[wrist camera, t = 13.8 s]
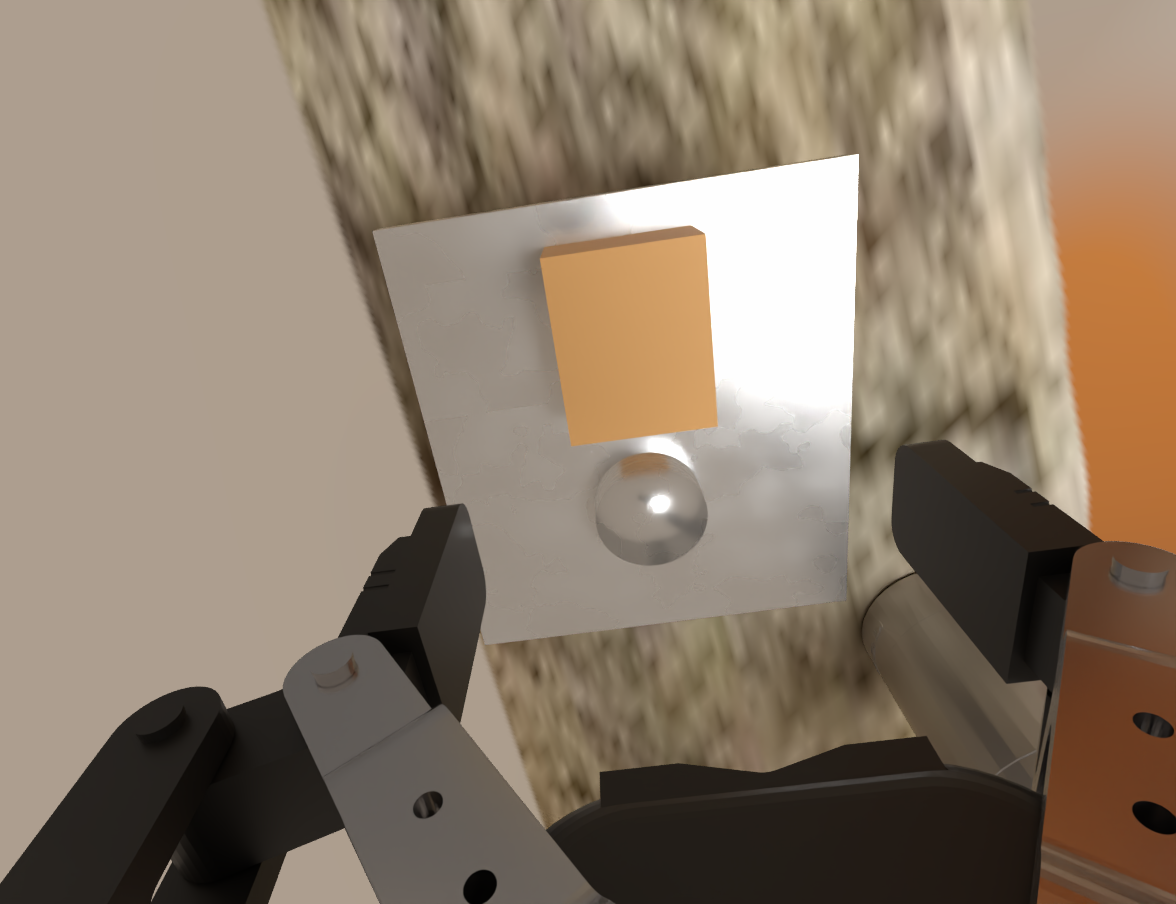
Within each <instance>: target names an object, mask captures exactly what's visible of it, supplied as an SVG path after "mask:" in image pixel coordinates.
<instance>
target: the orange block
mask: <svg viewBox="0 0 1176 904" xmlns="http://www.w3.org/2000/svg"><path fill="white" fill-rule="evenodd" d="M540 263H541V269H542V275H543V281H544V287H545V293H546V299H547V305H548V311H549V317H550V323H551V329H552V335H553V341H554V347H555V353H556V359H557V365H558V371H559V377H560V383H561V389H562V394H563V400H564V406H565V412H566V418H567V424H568V430H569V436H570V442H571V446H578V445H585V444H593V443H600V442H608V441H615V440H622V439H630V438H637V437H645V436H652V435H660V434H667V433H674V432H682V431H689V430H697V429H704V428H712V427H718V420H717V404H716V388H715V372H714V355H713V339H712V323H711V307H710V291H709V275H708V259H707V243H706V234H705V233H704V232H702V231H701V230H699V229H697V228H696V227H694V226H692V225H689V226H682V227H675V228H669V229H662V230H655V231H649V232H642V233H635V234H629V235H622V236H615V237H609V238H602V239H595V240H589V241H582V242H575V243H569V244H562V245H555V246H549V247H544V249H543V251H542V254H541V257H540Z"/></svg>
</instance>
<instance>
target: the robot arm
mask: <svg viewBox="0 0 1176 904" xmlns="http://www.w3.org/2000/svg"><path fill="white" fill-rule="evenodd" d="M892 532H893V536H894V540H895V543H896V545H897V547H898V549H899V551H900V553H901V554H902V556H903V557H904V558H905V559H906V561H907V562H908V563H909V564H910V566H911V567H912V568H913V569H914V570H915V572H916V573H917V574H913V575H910V576H908V577H906V578H904V579H902V580H900V581H898V582H896V583H895V584H893V585H892V586H890V587H889V588H887V589H886V590H885V591H884V592H883V593H882V594H881V595H879V596H878V597H877V598H876V599H875V601H874V602H873V604H872V605H871V606H870V608H869V609H868V611H867V614H866V616H865V618H864V621H863V627H862V639H863V643H864V646H865V648H866V651H867V652H868V654H869V656H870V657H871V659H872V661H873V663H874V665H875V667H876V669H877V671H878V672H879V674H880V675H881V676H882V678H883V680H884V682H885V683H886V685H887V687H888V688H889V690H890V692H891V694H892V696H893V697H894V699H895V701H896V702H897V704H898V706H899V708H900V709H901V711H902V713H903V714H904V716H905V718H906V720H907V721H908V723H909V725H910V726H911V728H912V730H913V732H914V733H915V735H916V737H912V738H903V739H894V740H885V741H876V742H867V743H858V744H849V745H843V746H840V747H838V748H835V749H832V750H830V751H827V752H824V753H821V754H819V755H816V756H813V757H811V758H808V759H805V760H802V761H800V762H797V763H794V764H792V765H789V766H786V767H783V768H781V769H778V770H775V771H772V772H766V773H758V772H749V771H740V770H732V769H723V768H714V767H705V766H697V765H688V764H679V763H678V764H669V765H660V766H651V767H642V768H633V769H624V770H615V771H606V772H600V797H601V799H599V800H597V801H594V802H592V803H589V804H587V805H585V806H583V807H581V808H579V809H577V810H575V811H573V812H571V813H569V814H568V815H566V816H565V817H563V818H562V819H560V820H559V821H557V822H556V823H554V824H553V825H552V826H550V827H549V828H548V829H547V830H545V829H544V827H543V826H542V825H541V824H540V822H539V821H538V820H537V819H536V818H535V816H534V815H533V814H532V813H531V811H530V810H529V809H528V808H527V806H526V805H525V804H524V803H523V801H522V800H521V799H520V798H519V796H518V795H517V794H516V793H515V792H514V790H513V789H512V788H511V787H510V785H509V784H508V783H507V781H506V780H505V779H504V778H503V776H502V775H501V774H500V773H499V771H498V770H497V769H496V768H495V766H494V765H493V764H492V763H491V762H490V760H489V759H488V758H487V757H486V755H485V754H484V753H483V752H482V750H481V749H480V748H479V747H478V745H477V744H476V743H475V742H474V740H473V739H472V738H471V737H470V736H469V734H468V733H467V732H466V731H465V729H464V728H463V727H462V725H461V724H460V721H461V717H462V713H463V708H464V703H465V698H466V693H467V689H468V684H469V679H470V675H471V670H472V666H473V661H474V656H475V652H476V647H477V642H478V637H479V633H480V628H481V623H482V619H483V614H484V609H485V604H486V582H485V575H484V571H483V567H482V563H481V559H480V555H479V551H478V547H477V543H476V539H475V535H474V532H473V528H472V524H471V520H470V516H469V513H468V510H467V508H466V506H465V505H464V504H463V503H461V504H453V505H446V506H438V507H431V508H425V509H423V511H422V512H421V514H420V517H419V519H418V521H417V523H416V525H415V528H414V530H413V532H412V534H411V536H407V537H400V538H398V539H397V540H396V541H394V542H393V543H392V544H391V545H390V546H389V547H388V548H387V549H386V550H384V551H383V552H382V553H381V554H380V556H379V557H378V559H377V561H376V563H375V565H374V568H373V569H372V571H371V576H369V577H368V579H367V581H366V583H365V585H364V587H363V589H364V591H362V592H361V593H360V595H359V597H358V599H357V601H356V603H355V605H354V607H353V609H352V611H351V613H350V615H349V617H348V619H347V621H346V623H345V625H344V627H343V629H342V631H341V633H340V635H339V636H338V638H337V639H334V640H331V641H328V642H326V643H324V644H322V645H320V646H318V647H316V648H315V649H313V650H311V651H310V652H308V653H307V654H305V655H304V656H303V657H302V658H301V659H299V660H298V661H297V663H295V665H294V666H293V667H292V668H291V669H290V671H289V672H288V674H287V676H286V678H285V680H284V684H283V689H282V690H279V691H277V692H274V693H272V694H269V695H266V696H263V697H261V698H257V699H255V700H252V701H249V702H246V703H243V704H240V705H237V706H234V707H232V708H229V709H226V707H225V706H224V703H223V701H222V700H221V698H220V696H219V694H218V693H217V692H216V691H215V690H213V689H211V688H208V687H189V688H185V689H180V690H177V691H174V692H171V693H169V694H166V695H164V696H162V697H160V698H158V699H156V700H154V701H152V702H150V703H149V704H147V705H145V706H143V707H142V708H140V709H139V710H138V711H136V712H135V713H134V714H132V715H131V716H130V717H129V718H127V719H126V720H125V721H124V722H123V723H122V724H121V725H120V726H119V727H118V728H117V729H116V730H115V732H114V733H113V734H112V735H111V737H110V738H109V739H108V741H107V742H106V743H105V745H104V746H103V747H102V748H101V750H100V751H99V753H98V754H97V755H96V757H95V758H94V759H93V760H92V762H91V763H90V764H89V766H88V767H87V769H86V770H85V771H84V773H83V774H82V775H81V777H80V778H79V779H78V781H77V782H76V783H75V785H74V786H73V787H72V789H71V790H70V791H69V793H68V794H67V796H66V797H65V798H64V799H63V801H62V802H61V803H60V805H59V806H58V807H57V809H56V810H55V811H54V813H53V814H52V815H51V817H50V818H49V820H48V821H47V822H46V823H45V825H44V826H43V827H42V829H41V830H40V831H39V833H38V834H37V835H36V837H35V838H34V839H33V841H32V842H31V843H30V845H29V846H28V847H27V849H26V850H25V852H24V853H23V854H22V856H21V857H20V858H19V860H18V861H17V862H16V863H15V865H14V866H13V867H12V869H11V870H10V871H9V873H8V874H7V875H6V877H5V878H4V880H3V881H2V882H1V883H0V904H268V902H269V900H270V897H271V894H272V891H273V889H274V886H275V883H276V881H277V878H278V875H279V872H280V870H281V866H282V864H283V861H284V858H285V856H286V853H287V852H288V851H290V850H293V849H295V848H297V847H300V846H302V845H305V844H307V843H310V842H312V841H314V840H317V839H319V838H322V837H324V836H327V835H329V834H331V833H334V832H336V831H339V830H341V829H343V828H345V830H346V832H347V834H348V836H349V838H350V841H351V843H352V845H353V847H354V849H355V851H356V854H357V856H358V858H359V860H360V862H361V864H362V866H363V868H364V871H365V873H366V875H367V877H368V879H369V882H370V884H371V886H372V888H373V890H374V892H375V894H376V897H377V899H378V901H379V903H380V904H1176V555H1175V554H1173V553H1170V552H1168V551H1165V550H1162V549H1159V548H1155V547H1151V546H1147V545H1142V544H1137V543H1130V542H1119V541H1105V542H1104V541H1102V540H1101V539H1100V538H1098V537H1097V536H1095V535H1094V534H1093V533H1091V532H1090V531H1089V530H1087V529H1086V528H1085V527H1083V526H1082V525H1081V524H1079V523H1078V522H1076V521H1075V520H1074V519H1072V518H1071V517H1070V516H1068V515H1067V514H1066V513H1064V512H1063V511H1061V510H1060V509H1059V508H1057V507H1056V506H1055V505H1049V501H1048V500H1046V499H1045V498H1044V497H1042V496H1041V495H1040V494H1038V493H1037V492H1032V490H1031V488H1030V487H1029V486H1027V485H1026V484H1025V483H1023V482H1022V481H1021V480H1019V479H1018V478H1016V477H1015V476H1014V475H1012V474H1011V473H1009V472H1006V471H1004V470H1001V469H998V468H996V467H993V466H991V465H988V464H985V463H983V462H975V461H974V460H973V459H971V458H970V457H969V456H967V455H966V454H965V453H964V452H962V451H961V450H960V449H958V448H957V447H956V446H954V445H953V444H952V443H951V442H949V441H947V440H938V441H930V442H923V443H915V444H908V445H902V446H900V447H899V448H898V450H897V453H896V457H895V469H894V485H893V502H892ZM170 859H171V860H172V864H171V865H170V867H169V869H168V871H167V873H166V875H165V877H164V879H163V881H162V882H161V884H160V887H159V888H158V890H157V892H156V894H155V896H154V898H153V900H152V901H151V899H152V896H153V893H154V890H155V888H156V885H157V884H158V881H159V880H160V878H161V876H162V874H163V872H164V870H165V868H166V866H167V865H168V863H169V861H170Z"/></svg>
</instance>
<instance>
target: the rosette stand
mask: <svg viewBox="0 0 1176 904" xmlns="http://www.w3.org/2000/svg"><path fill="white" fill-rule="evenodd" d="M858 157H859V155H841V156H834V157H828V158H822V159H815V160H809V161H803V162H796V163H790V164H784V165H777V166H771V167H765V168H758V169H752V170H746V171H739V172H733V173H727V174H720V175H714V176H707V177H701V178H695V179H688V180H682V181H676V182H669V183H663V184H657V185H650V186H644V187H638V188H631V189H625V190H619V191H612V192H606V193H600V194H593V195H587V196H580V197H574V198H568V199H561V200H555V201H549V202H542V203H536V204H530V205H523V206H517V207H511V208H504V209H498V210H492V211H485V212H479V213H473V214H466V215H460V216H454V217H447V218H441V219H434V220H428V221H422V222H415V223H409V224H403V225H396V226H390V227H384V228H380V229H377V230H374V231H372V232H373V236H374V240H375V243H376V247H377V251H378V254H379V258H380V262H381V265H382V269H383V273H384V276H385V280H386V284H387V287H388V291H389V295H390V298H391V302H392V306H393V309H394V313H395V317H396V320H397V324H398V328H399V331H400V335H401V339H402V342H403V346H404V350H405V353H406V357H407V361H408V364H409V368H410V372H411V375H412V379H413V383H414V386H415V390H416V394H417V397H418V401H419V405H420V408H421V412H422V416H423V419H424V423H425V427H426V430H427V434H428V438H429V441H430V445H431V449H432V452H433V456H434V460H435V463H436V467H437V471H438V474H439V478H440V482H441V485H442V489H443V493H444V496H445V500H446V504H447V505H453V504H461V503H463V504H464V505H465V506H466V508H467V510H468V513H469V516H470V520H471V524H472V528H473V532H474V535H475V539H476V543H477V547H478V551H479V555H480V559H481V563H482V567H483V571H484V575H485V582H486V604H485V609H484V614H483V619H482V623H481V628H480V629H481V632H482V636H483V640H484V643H485V645H489V644H498V643H506V642H514V641H522V640H530V639H538V638H546V637H554V636H562V635H570V634H579V633H587V632H595V631H603V630H611V629H619V628H627V627H635V626H643V625H651V624H660V623H668V622H676V621H684V620H692V619H700V618H708V617H716V616H724V615H732V614H740V613H749V612H757V611H765V610H773V609H781V608H789V607H797V606H805V605H813V604H821V603H830V602H838V601H846V590H847V554H848V518H849V481H850V445H851V409H852V373H853V337H854V301H855V265H856V229H857V193H858ZM689 225H692V226H694V227H696V228H697V229H699V230H701V231H702V232H704V233H705V234H706V243H707V259H708V275H709V291H710V307H711V323H712V339H713V355H714V372H715V388H716V404H717V420H718V427H712V428H704V429H697V430H689V431H682V432H674V433H667V434H660V435H652V436H645V437H637V438H630V439H622V440H615V441H608V442H600V443H593V444H585V445H578V446H571V442H570V436H569V430H568V424H567V418H566V412H565V406H564V400H563V394H562V389H561V383H560V377H559V371H558V365H557V359H556V353H555V347H554V341H553V335H552V329H551V323H550V317H549V311H548V305H547V299H546V293H545V287H544V281H543V275H542V269H541V263H540V257H541V254H542V251H543V249H544V247H549V246H555V245H562V244H569V243H575V242H582V241H589V240H595V239H602V238H609V237H615V236H622V235H629V234H635V233H642V232H649V231H655V230H662V229H669V228H675V227H682V226H689Z"/></svg>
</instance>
